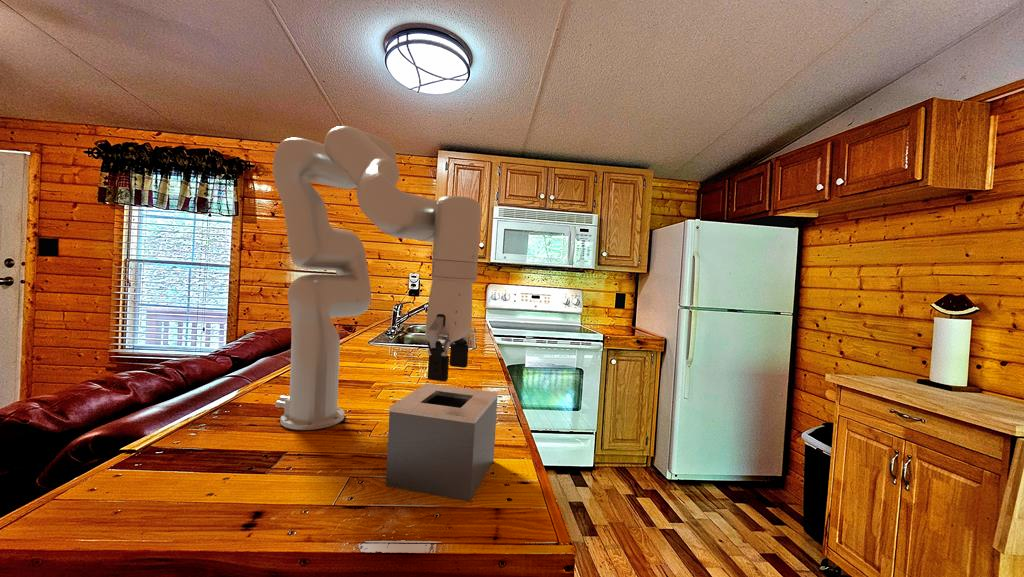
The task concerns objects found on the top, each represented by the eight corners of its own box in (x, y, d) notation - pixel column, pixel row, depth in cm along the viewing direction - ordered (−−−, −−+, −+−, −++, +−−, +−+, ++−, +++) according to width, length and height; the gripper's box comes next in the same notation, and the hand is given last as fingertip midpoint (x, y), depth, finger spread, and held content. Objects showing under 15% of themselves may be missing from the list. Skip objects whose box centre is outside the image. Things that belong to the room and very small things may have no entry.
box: (385, 485, 66) (389, 406, 66) (422, 449, 80) (426, 383, 79) (470, 501, 64) (475, 418, 63) (493, 460, 77) (497, 392, 77)
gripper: (451, 270, 79) (446, 360, 80) (410, 270, 62) (404, 383, 63) (489, 273, 78) (483, 364, 79) (458, 273, 61) (451, 389, 62)
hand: (448, 373), depth 71 cm, fingers open, 9 cm apart
